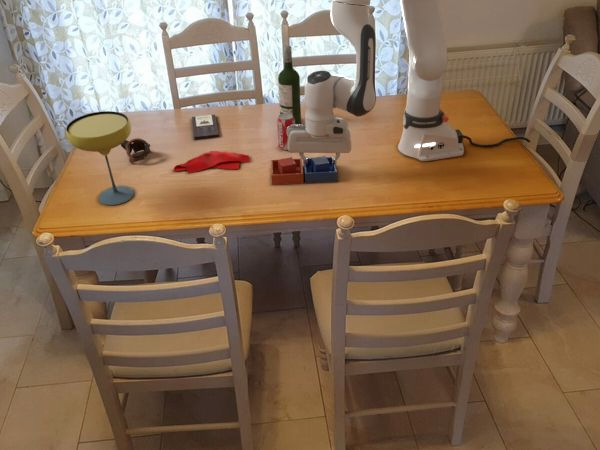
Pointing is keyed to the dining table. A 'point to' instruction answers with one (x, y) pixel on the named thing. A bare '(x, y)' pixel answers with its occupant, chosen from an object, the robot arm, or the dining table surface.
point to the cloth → (213, 161)
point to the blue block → (320, 164)
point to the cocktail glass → (102, 144)
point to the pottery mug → (136, 149)
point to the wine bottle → (289, 88)
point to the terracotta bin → (287, 178)
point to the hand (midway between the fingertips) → (319, 163)
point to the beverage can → (284, 129)
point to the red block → (286, 166)
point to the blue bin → (320, 173)
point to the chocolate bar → (205, 127)
